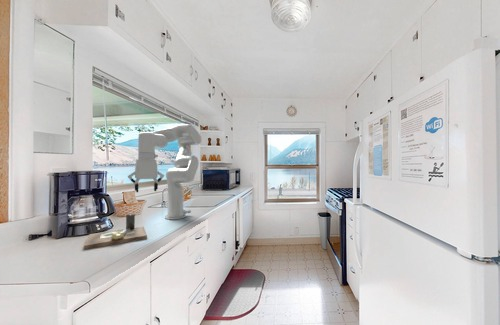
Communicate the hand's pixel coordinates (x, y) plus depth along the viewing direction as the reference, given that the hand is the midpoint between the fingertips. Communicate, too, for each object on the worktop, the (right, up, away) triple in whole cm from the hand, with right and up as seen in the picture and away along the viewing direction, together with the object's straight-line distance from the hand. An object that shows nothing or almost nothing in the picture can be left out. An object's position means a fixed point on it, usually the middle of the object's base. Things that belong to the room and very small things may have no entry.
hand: (146, 191), depth 104 cm
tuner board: (-7, -20, -11) cm, 24 cm away
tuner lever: (-5, -18, -11) cm, 21 cm away
